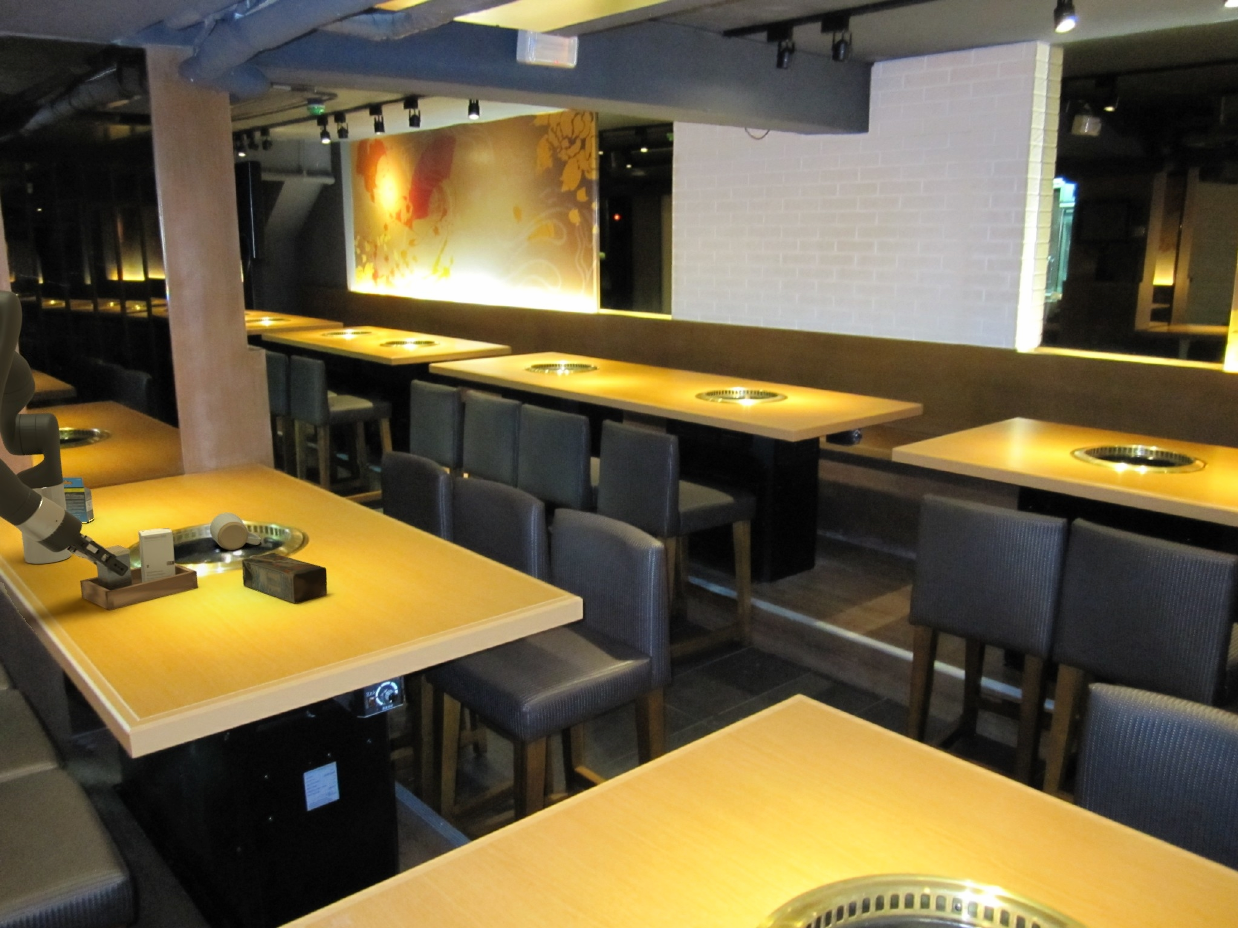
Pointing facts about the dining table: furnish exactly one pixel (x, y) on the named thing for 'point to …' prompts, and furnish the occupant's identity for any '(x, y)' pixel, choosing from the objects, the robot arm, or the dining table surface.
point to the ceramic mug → (231, 532)
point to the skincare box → (156, 554)
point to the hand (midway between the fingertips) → (115, 567)
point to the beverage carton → (284, 577)
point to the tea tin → (109, 577)
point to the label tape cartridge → (78, 499)
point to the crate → (139, 588)
